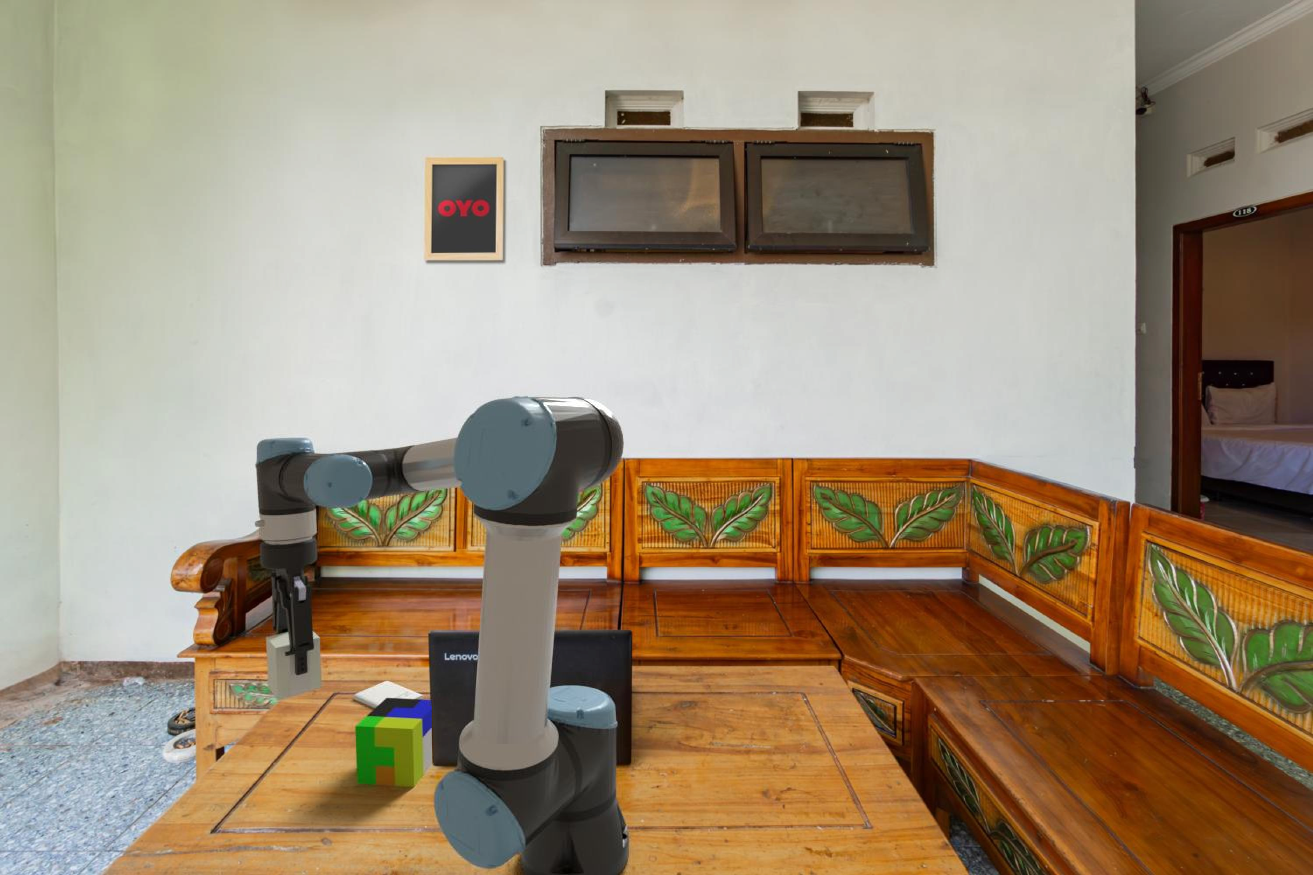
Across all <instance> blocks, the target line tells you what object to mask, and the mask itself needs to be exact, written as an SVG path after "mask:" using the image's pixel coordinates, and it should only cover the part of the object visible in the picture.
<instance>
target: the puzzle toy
mask: <svg viewBox="0 0 1313 875" xmlns="http://www.w3.org/2000/svg"><path fill="white" fill-rule="evenodd" d="M431 700H432V699H424V698H423V699H402V698H386V699H385V700H384V701H383V702H381V703H380V704H379V705H378V706H377V707H376V708H373V709H372V710H371V711H370V712H369V713H368V714H367V715H366V716H365V717H364V718H362V720H360V721H359V722H358V723H357V724H356V725H355V726H354V728H355V755H356V756H355V757H356V783H357V784H361V785H373V786H374V785H376V786H391V787H394V786H395V787H407V788H408V787H409V788H415V787H416V785H417V784H418V783H419V782H420V781H421V780H422V779H423V777H424V775H425V774H426V773H427V772H428V770H429V769H430V768H431V766H432V765H433V764H432V706H431ZM429 767H430V768H429ZM426 771H427V772H426ZM418 781H419V782H418Z"/></svg>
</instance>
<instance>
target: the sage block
mask: <svg viewBox="0 0 1313 875" xmlns="http://www.w3.org/2000/svg"><path fill="white" fill-rule="evenodd" d="M265 639H266V640H265V642H266V643H265V645H266V664H267V666H266V667H267V668H266V669H267V688H268V689H269V690H270V692H271V693H272V695H273V696H274V698H275V699H276V700H277V701H281V700H285V699H288V698H292V697H291V696H290V689H289V663H288V656H285V652H288V651H290V643H289V635H288V632H286V633H281V634H277V635H276V634H273V635H269V636H266V637H265ZM313 643H314V649H313V650H310V651H309V653H310V679H311V691H310V692H312V691H315V690H319V689H322V687H323V685H322V684H323V683H322V659H321V658H322V657H321V656H322V655H321V637H320V636H319V635H318V634H317V633H316V632H315V631H313Z"/></svg>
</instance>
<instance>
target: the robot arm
mask: <svg viewBox="0 0 1313 875" xmlns="http://www.w3.org/2000/svg"><path fill="white" fill-rule="evenodd" d="M624 443H625V442H624V434H623V431H622V427H621V425H620V423H619V421H618V419H617V418H616V416H615V415H614V413H613V412H612V411H611V410H609V409H608V407H606V406H605V405H603V404H601V403H600V402H598V401H596V400H592V399H590V398H587V397H579V396H572V397H571V396H570V397H556V396H555V397H552V396H551V397H550V396H549V397H548V396H547V397H545V396H528V395H526V396H524V395H523V396H518V395H517V396H516V395H515V396H513V397H508V398H507V397H506V398H498V399H494V400H489V401H487V402H485V403H483V404H482V405H480V406H479V407H478V408H477V409H476V410H475V411H474V412H473V413H472V414H470V415H469V416H468V417H467V418H466V420H465V421H464V423H463V425H462V426H461V428H460V430H459V432H458V435H457V437H453V438H447V439H441V440H437V441H430V442H424V443H419V444H413V445H407V446H400V447H393V448H385V449H374V450H373V449H372V450H359V451H347V452H344V451H343V452H334V453H317V452H316V453H315V450H314V444H313V442H312V440H311V439H309V438H307V437H279V438H277V437H276V438H266V439H262V440H260V441H259V442H258V443H257V445H256V462H255V465H254V466H255V470H256V487H257V490H256V491H257V503H258V504H257V506H258V513H259V516H258V517H259V520H256V521H254V526H255V527H256V528H259V538H260V539H261V540H262V541H263V542H261V544H260V545H259V550H260V551H259V552H260V553H259V554H260V555H259V556H260V566H261V567H262V568H264V569H268V570H271V572H270V573H269V574H270V575H269V576H270V578H271V579H270V580H271V594H272V595H271V596H272V597H271V598H272V600H271V602H272V631H273V632H274V633H275V635H277V634H281V633H286V632H288V635H289V643H290V651H288V652H285V656H288V663H289V689H290V696H291V697H290V698H292V697H295V696H299V695H303V694H306V693H309V692H312V691H311V679H310V653H309V651H310V650H313V649H314V643H313V632H314V627H313V626H314V625H313V612H312V610H313V609H312V590H313V587H312V584H309V579H308V576H307V575H305V570H304V568H305V567H306V566H307V565H311V564H313V563H315V562H316V561H317V559H318V544H317V543H318V542H317V539H316V538H315V535H316V534H317V532H318V530H317V509H316V506H319V507H324V508H327V509H338V508H341V509H346V508H349V509H350V508H352V507H355V506H358V504H360V503H361V502H362V501H368V500H374V499H380V498H384V497H385V498H386V497H392V496H399V495H407V494H414V493H423V492H427V491H428V492H429V491H435V490H445V489H447V490H448V489H454V488H459V489H460V490H461V492H462V494H463V495H464V497H465V498H467V500H469V501H470V502H471V503H472V504H473V516H474V518H475V519H476V520H478V521H479V523H480V524H481V525H482V526H483V527H484V528H485V540H484V541H485V542H484V555H483V556H484V557H483V558H484V559H483V573H482V574H483V575H482V588H481V589H482V590H481V591H482V592H481V605H480V606H481V607H480V619H479V632H478V633H479V635H478V636H479V637H478V651H477V653H478V654H477V667H476V682H475V683H476V684H475V697H474V698H475V700H474V714H473V720H471V721H470V722H468V724H466V725H465V727H463V729H462V731H461V734H460V736H459V739H458V740H459V741H458V752H457V765H456V767H455V768H454V770H452V771H451V770H450V771H448V772H447V773H446V774H444V776H443V778H442V779H440V780H439V781H438V783H437V785H436V786H435V790H434V792H433V793H434V794H433V807H434V814H435V817H436V820H437V822H438V826H439V828H440V830H441V832H442V834H443V835H444V837H445V838H446V840H447V842H448V843H449V845H450V846H451V847H452V849H453V850H454V851H455V852H456V854H458V855H459V856H460V857H461V858H462V859H464V860H465V861H467V862H468V863H469V864H470V865H471V864H472V865H473V866H474V867H478V868H481V869H486V870H491V869H493V870H494V869H496V868H499V867H502V866H503V865H505V864H506V863H508V862H509V861H510V860H511V859H512V858H514V857H515V856H516V855H520V863H521V870H522V871H523V874H524V875H619V874H620V873H622V871H623V870H624V868H625V866H626V865H627V863H628V861H629V857H630V836H629V835H630V834H629V829H628V826H627V823H626V819H625V818H624V815H623V812H622V809H621V806H620V804H619V800H618V798H617V797H618V796H617V727H618V721H617V715H616V704H615V702H614V701H613V698H611V696H610V695H608V694H607V693H606V692H604V691H601V690H599V689H597V688H593V687H590V686H584V685H558V686H551V679H552V678H551V677H552V665H553V664H552V663H553V654H554V652H553V651H554V641H555V628H556V615H557V602H558V593H559V592H558V590H559V581H560V580H559V579H560V578H559V577H560V567H561V566H560V564H561V555H562V554H561V553H562V551H561V550H562V540H563V533H564V531H565V530H566V529H568V527H570V526H571V525H572V524H574V523H575V522H576V520H577V517H578V506H579V496H580V495H579V492H580V491H584V490H588V489H592V488H594V487H596V486H598V485H600V484H602V483H604V482H605V481H606V480H608V479H609V477H611V476H612V474H614V472H615V471H616V470H617V468H618V466H619V464H620V462H621V461H622V456H623V453H624Z"/></svg>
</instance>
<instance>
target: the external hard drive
mask: <svg viewBox="0 0 1313 875" xmlns="http://www.w3.org/2000/svg"><path fill="white" fill-rule="evenodd" d="M386 698H402V699H424V694H421V693H418V692H416V691H414V690H411V689H409V688H406V687H404V686H401V685H400V684H399V685H398V684H397V683H395V682H391V681H389V680H386V681H385V680H384V681H383V682H381V683H378V684H376V685H373V686H371V687H368V688H366V689H364V690H360V691H359V692H357V693H355V694H354V695H353V700H354V701H357V702H359V703H362V704H364V705H367V706H368V707H370V708H373V709H375V708H376V707H377V706H378V705H379V704H380V703H381V702H383V701H384V700H385V699H386Z"/></svg>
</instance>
